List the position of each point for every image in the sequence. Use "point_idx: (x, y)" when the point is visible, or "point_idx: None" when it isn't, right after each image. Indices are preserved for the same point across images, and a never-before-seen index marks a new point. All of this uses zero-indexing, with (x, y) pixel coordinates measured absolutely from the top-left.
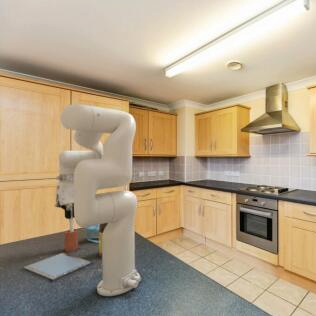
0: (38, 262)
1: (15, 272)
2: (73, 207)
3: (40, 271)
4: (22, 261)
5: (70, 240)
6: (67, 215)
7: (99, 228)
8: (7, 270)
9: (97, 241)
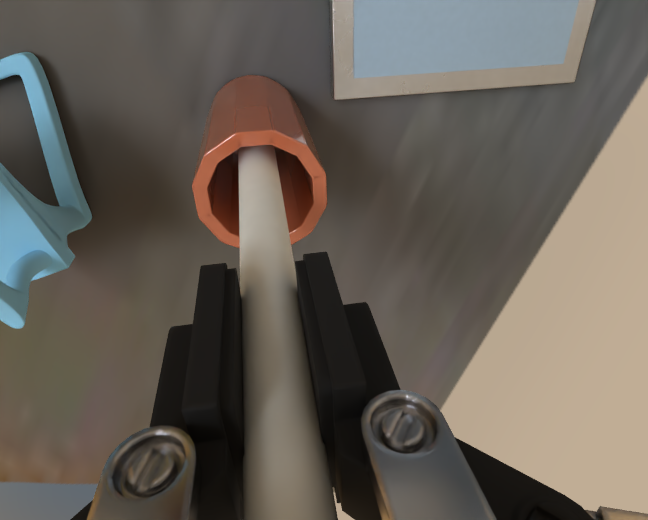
0: (506, 64)
1: (603, 74)
2: (221, 499)
3: None
4: (487, 221)
5: (287, 110)
6: (357, 321)
7: None
8: (586, 156)
9: (21, 71)
